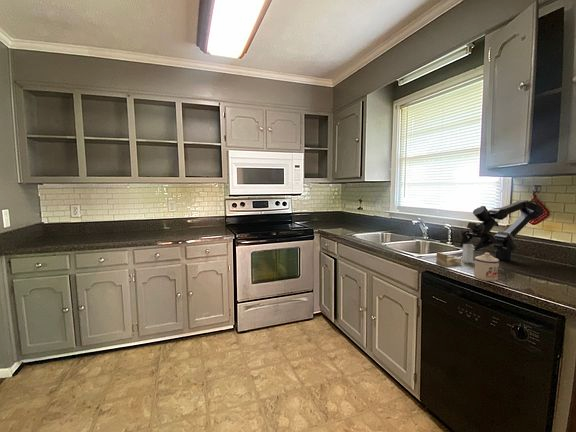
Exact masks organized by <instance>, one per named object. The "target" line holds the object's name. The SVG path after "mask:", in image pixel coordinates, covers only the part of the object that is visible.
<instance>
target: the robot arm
mask: <svg viewBox="0 0 576 432" xmlns="http://www.w3.org/2000/svg"><path fill="white" fill-rule="evenodd" d="M517 211H521V215H520V216H518V218H517V219H516V220H515V221H514V222H512V223H511V225H509V227H507V229H506V230H505V231H497V232H496V234H492V232H491V230H492V229H493V228H494V227H495V228H496V227H498V228H499V222H498V221H499V220H500V221H502V220H504V219H506V218H507V217H508V216H509V215H510V214H512V213H515V212H517ZM542 213H543V214H544V208H543V207H542V206H541V205H538V204H536V203H533V202H531V201H528V200H526V199H525V200H523V199H519V200H517V201H515V202H512V203H510V204H507V205H505V206H501V207H494V208H489V210H488V209H487V207H486V205H481V206H480V207H476V208H475V209H474V210H473V211H472V214H473V216H474V217H475V218H476V219H477V220H478V221H479V222H478V223H477V222H470V221H469V222H468V224H467V226H466V228H467V229H461V230H460V231H459V234H460V235H461V241H460V245H459V246H460V248H463V244H469V243H470V241H471V240H472V239H473V238H475V239H479V240H480V241H478V243H477V244H476V246H474V250H475V251H478V250H480V249H483V248H486V247H489V246H493V248H496V250H495V257H494V258H497V259H499V261H503V262H505V261H506V262H512V252H513V251H516V247H517V246H516V245H515V243H514V241H515V240H514V238H515V236H516V235H517V234H518V233H520V232H521V230H522V229H523V228H524V227H525V226H526V225H528V223H529V222H531V221H533V220H536V219H538V218H539V217H540V216H542V215H543V214H542ZM469 229H470V231H469Z"/></svg>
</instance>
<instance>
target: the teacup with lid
mask: <svg viewBox="0 0 576 432" xmlns="http://www.w3.org/2000/svg"><path fill="white" fill-rule="evenodd" d="M499 267H500V260H499V259H497V258H495V257H494V256H493V255H491V253H490V252H484V253H483V254H481V255H477V256H475V257H474V272H473V273H474V274H473V275H474V278H475V279H477V280H482V281H485V282H497V281H498V279H499V278H498V277H499V276H498V275H499Z"/></svg>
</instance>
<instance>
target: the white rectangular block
mask: <svg viewBox="0 0 576 432" xmlns="http://www.w3.org/2000/svg"><path fill="white" fill-rule="evenodd" d="M474 250H475V245H474V244H471V243H467V244H463V246H462V253H461V254H462V258H461V263H463V264H473V262H474Z"/></svg>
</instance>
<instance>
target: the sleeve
mask: <svg viewBox="0 0 576 432" xmlns="http://www.w3.org/2000/svg"><path fill="white" fill-rule="evenodd" d="M435 263H436V264H438V265H441V266H444V267H451V266H461V265H462V258H461V257H455V256H454V255H448V254H445V253H443V252H439V251H437V252H436V261H435Z"/></svg>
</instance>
